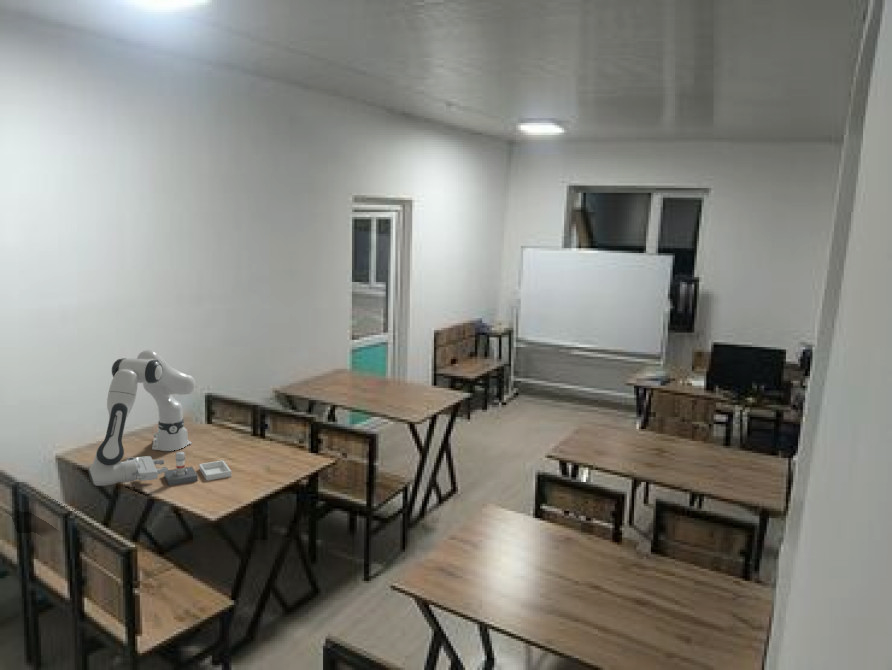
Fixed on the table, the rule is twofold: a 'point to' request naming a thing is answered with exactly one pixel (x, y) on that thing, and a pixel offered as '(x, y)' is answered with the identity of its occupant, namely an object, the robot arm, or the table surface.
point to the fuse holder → (181, 476)
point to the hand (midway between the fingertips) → (165, 465)
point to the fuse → (180, 463)
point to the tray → (215, 470)
